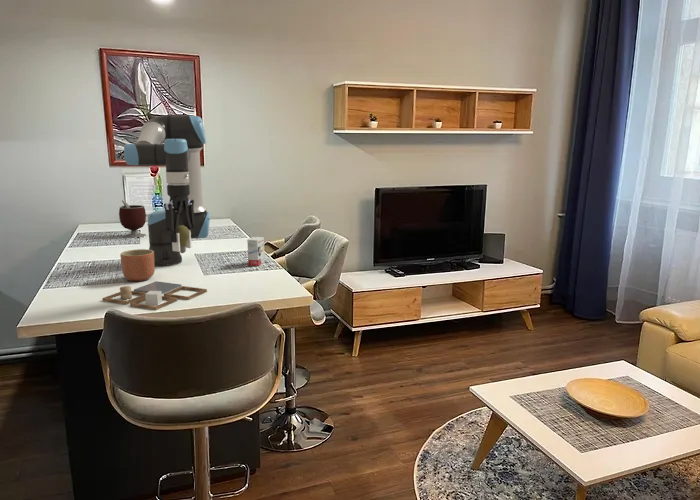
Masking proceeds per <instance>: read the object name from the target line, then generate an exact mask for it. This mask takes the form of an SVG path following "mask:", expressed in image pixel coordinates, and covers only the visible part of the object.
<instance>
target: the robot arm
mask: <svg viewBox="0 0 700 500" xmlns="http://www.w3.org/2000/svg"><path fill="white" fill-rule="evenodd" d="M206 137H207V136H206V132H205V126H204V122H203V119H202V118H201V117H200V116H198V115H188V114H187V115H179V114H178V115H173V114H172V115H167V114H164V115H160V116H159V115H158V116H156V117H153V118H150V119H149V120H147V121H146V122H145V123H144V124H143V125H142V126H141V129H140V135H139V137H138V139H137V140H136V142H135V143H133V142H132V143H126V144H125V145H124V148H123V158H124V161H125V163H126V165H128V166H136V167H137V166H165V180H166V184H167V185H166V192H167V193H166V195H167V196H168V197H169V202H168V203H164V204H163V207H164V210H159V211H154V212H151V213H150V214H149V215H148V216H147V228H148V230H147V231H148V242H149V246H148V250H153V251H154V264H155V267H157V266H159V267H163V266H172V265H177V264H180V263H182V261H183V258H182V253H181V252H180V236H179V233H177V232H178V226H179V225H183V226H186V227H187V228H188V229H189V232H190V234H189V238H188V240H187V244H186V249H191V248H192V239H196V240H199V239H206V238H207V237H208V236H209V230H210V221H211V220H210V219H211V213H210V212H209V211H207V208H206V206H204V204H203V186H202V184H203V183H202V172H201V170H202V169H201V156H200V155H201V154H200V153H201V150H203V149H204V145H206V143H207V138H206Z"/></svg>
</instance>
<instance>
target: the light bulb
mask: <svg viewBox="0 0 700 500" xmlns="http://www.w3.org/2000/svg"><path fill="white" fill-rule="evenodd" d="M177 233H179V236H180V254H184V253H186V251H187V248H186V244H187V240H188V238H189V234H190V232H189V229H188V228H187V227H186V226H183V225H179V226H178V232H177Z"/></svg>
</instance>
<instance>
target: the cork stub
mask: <svg viewBox="0 0 700 500" xmlns="http://www.w3.org/2000/svg"><path fill="white" fill-rule="evenodd" d="M131 291H132V287H131V286H130V285H126V286H125V285H124V286H120V288H119V292H120V295H119V296H120V300H121V299H122V300H123V301H128V300H127V299H129V300H131V299H133V297H132V295H133V294H131Z"/></svg>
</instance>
